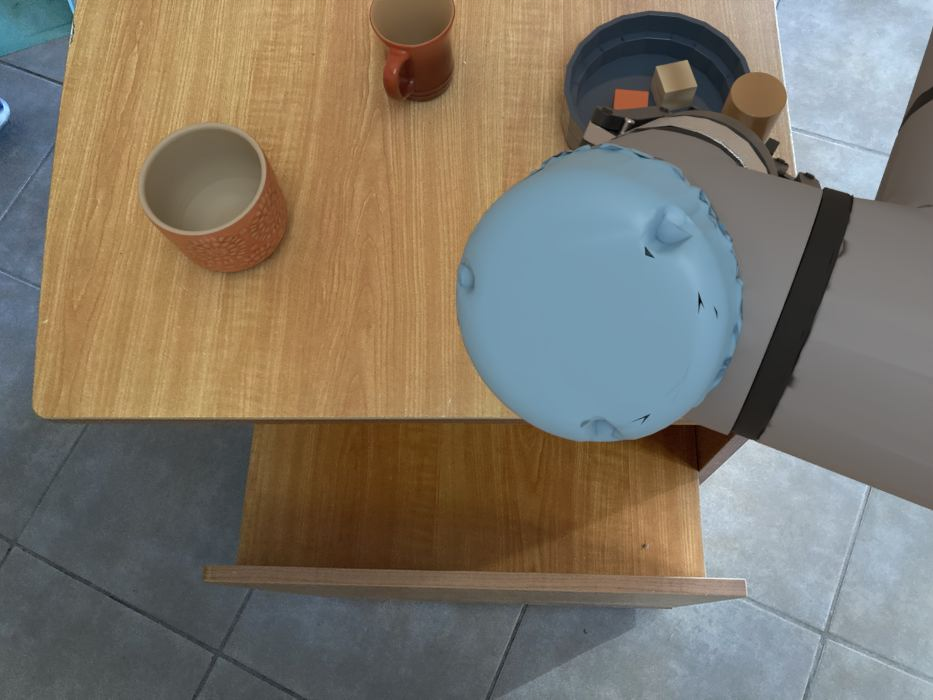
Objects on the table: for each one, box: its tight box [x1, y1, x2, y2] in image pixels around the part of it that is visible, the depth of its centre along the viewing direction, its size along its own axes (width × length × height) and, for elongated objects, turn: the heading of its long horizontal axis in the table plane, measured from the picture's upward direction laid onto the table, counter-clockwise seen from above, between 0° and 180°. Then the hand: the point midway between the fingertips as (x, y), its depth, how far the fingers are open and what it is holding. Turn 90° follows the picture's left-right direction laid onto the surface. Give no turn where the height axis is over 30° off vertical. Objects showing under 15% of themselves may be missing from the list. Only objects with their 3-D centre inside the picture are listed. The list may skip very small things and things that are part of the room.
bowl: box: [560, 10, 752, 150], centre depth 81 cm, size 19×19×6 cm
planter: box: [136, 121, 288, 273], centre depth 76 cm, size 12×12×11 cm
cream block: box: [650, 60, 697, 111], centre depth 82 cm, size 4×4×4 cm
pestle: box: [721, 71, 788, 144], centre depth 49 cm, size 5×5×15 cm
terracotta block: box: [611, 89, 649, 110], centre depth 82 cm, size 4×4×4 cm
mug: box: [368, 0, 456, 102], centre depth 82 cm, size 12×9×10 cm
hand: (738, 146), depth 52 cm, fingers closed on pestle, 3 cm apart
